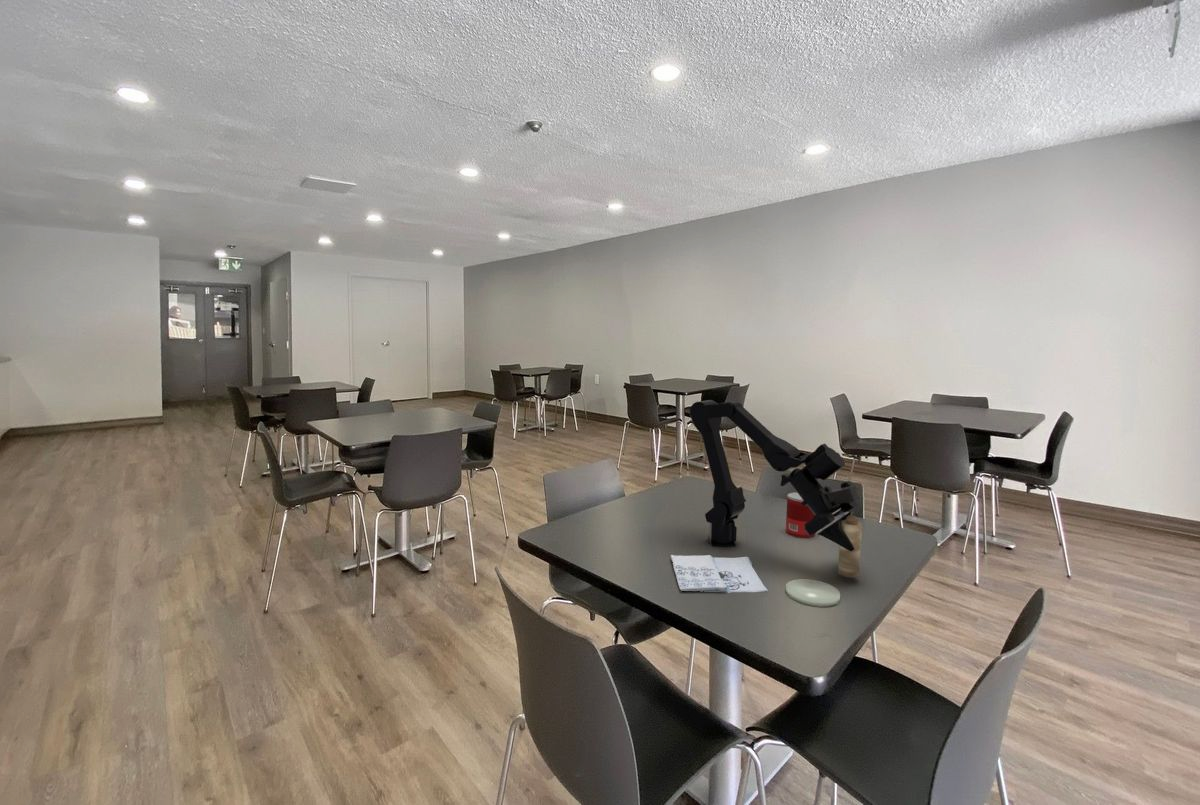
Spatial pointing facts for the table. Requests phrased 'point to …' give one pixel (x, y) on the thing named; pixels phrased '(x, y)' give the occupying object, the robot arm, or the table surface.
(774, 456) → the robot arm
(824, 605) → the disc
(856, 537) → the pepper mill
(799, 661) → the table surface
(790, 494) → the canned food
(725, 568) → the open notebook
